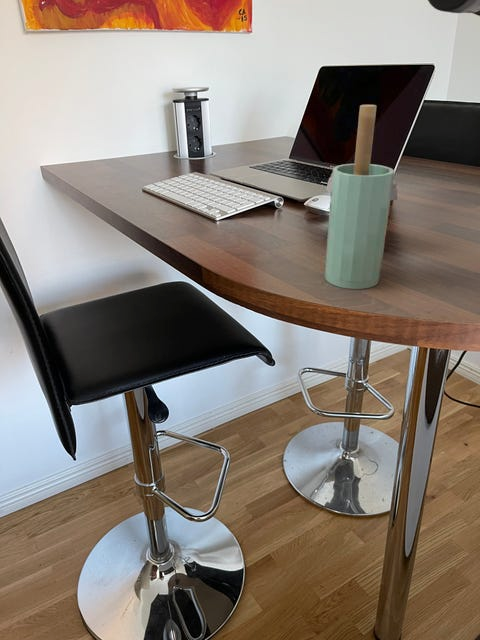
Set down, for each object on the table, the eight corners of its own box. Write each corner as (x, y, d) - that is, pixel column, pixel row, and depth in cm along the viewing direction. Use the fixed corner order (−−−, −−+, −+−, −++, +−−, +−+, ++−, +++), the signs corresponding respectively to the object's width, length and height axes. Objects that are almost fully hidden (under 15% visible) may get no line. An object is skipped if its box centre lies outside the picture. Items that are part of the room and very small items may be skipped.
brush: (363, 264, 67) (382, 103, 57) (369, 276, 63) (390, 107, 54) (333, 264, 67) (347, 103, 58) (337, 276, 64) (353, 107, 54)
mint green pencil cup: (373, 268, 68) (387, 163, 62) (383, 289, 62) (399, 176, 56) (322, 267, 69) (330, 163, 62) (327, 288, 63) (336, 176, 56)
